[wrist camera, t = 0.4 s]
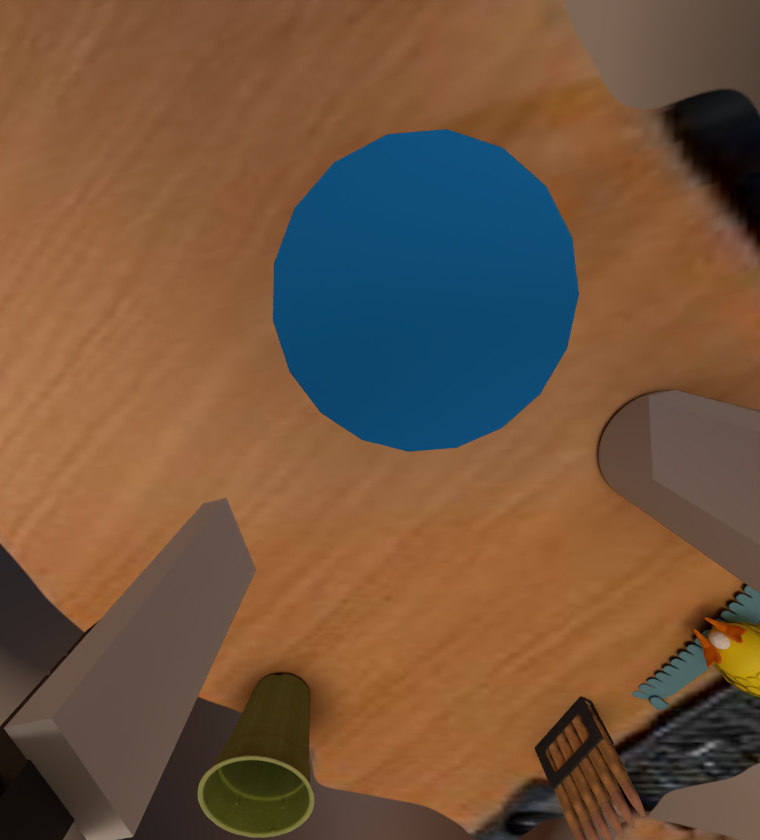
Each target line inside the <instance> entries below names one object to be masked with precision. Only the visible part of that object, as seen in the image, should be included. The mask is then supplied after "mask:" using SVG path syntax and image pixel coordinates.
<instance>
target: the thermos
mask: <svg viewBox="0 0 760 840" xmlns="http://www.w3.org/2000/svg"><path fill="white" fill-rule="evenodd" d="M578 295H579V292H578V283H577V275H576V266H575V258H574V249H573V240H572V237H571V235H570V233H569V231H568V229H567V227H566V225H565V223H564V221H563V219H562V217H561V215H560V213H559V211H558V209H557V207H556V205H555V203H554V201H553V199H552V197H551V195H550V193H549V191H548V189H547V187H546V186H545V185H544V184H543V183H542V182H541V181H540V180H538V179H537V178H536V177H535V176H534V175H533V174H532V173H530V172H529V171H528V170H527V169H526V168H525V167H524V166H523V165H521V164H520V163H519V162H518V161H517V160H516V159H515V158H513V157H512V156H511V155H510V154H509V153H508V152H507V151H506V150H504V149H503V148H502V147H499V146H496V145H493V144H490V143H487V142H484V141H481V140H478V139H475V138H472V137H469V136H466V135H463V134H460V133H457V132H454V131H451V130H448V129H444V130H433V131H421V132H410V133H398V134H387V135H385V136H384V137H382V138H380V139H378V140H376V141H374V142H372V143H370V144H368V145H366V146H365V147H363V148H361V149H359V150H357V151H355V152H353V153H351V154H349V155H347V156H346V157H344V158H342V159H340V160H338V161H336V162H334V163H333V164H332V166H331V167H330V168H329V169H328V170H327V171H326V173H325V174H324V175H323V176H322V177H321V178H320V179H319V181H318V182H317V183H316V184H315V185H314V186H313V188H312V189H311V190H310V191H309V192H308V193H307V195H306V196H305V197H304V198H303V199H302V200H301V202H300V203H299V204H298V205H297V206H296V207H295V209H294V212H293V214H292V217H291V220H290V222H289V225H288V228H287V230H286V233H285V236H284V238H283V241H282V244H281V246H280V249H279V252H278V254H277V257H276V260H275V262H274V295H273V322H274V325H275V328H276V331H277V334H278V337H279V340H280V343H281V346H282V349H283V352H284V356H285V359H286V362H287V365H288V368H289V371H290V373H291V374H292V375H293V377H294V378H295V379H296V381H297V382H298V383H299V385H300V386H301V387H302V388H303V390H304V391H305V392H306V394H307V395H308V396H309V398H310V399H311V400H312V402H313V403H314V404H315V406H316V407H317V408H318V409H319V411H320V412H321V413H322V414H324V415H325V416H327V417H328V418H330V419H331V420H333V421H334V422H336V423H337V424H339V425H340V426H342V427H343V428H345V429H346V430H348V431H349V432H351V433H352V434H354V435H355V436H357V437H359V438H360V439H362V440H365V441H369V442H373V443H377V444H381V445H385V446H389V447H393V448H396V449H400V450H404V451H408V452H410V451H421V450H433V449H445V448H457V447H459V446H461V445H464V444H466V443H468V442H471V441H473V440H475V439H477V438H480V437H482V436H484V435H487V434H489V433H491V432H494V431H496V430H498V429H500V428H502V427H503V426H505V425H506V424H507V423H508V422H509V421H510V420H511V419H512V418H514V417H515V416H516V415H517V414H518V413H519V412H520V411H521V410H523V409H524V408H525V407H526V406H527V405H528V404H529V403H530V402H532V401H533V400H534V399H535V398H536V397H537V396H538V395H540V393H541V392H542V390H543V388H544V386H545V385H546V383H547V381H548V380H549V378H550V376H551V375H552V373H553V371H554V369H555V368H556V366H557V364H558V363H559V361H560V359H561V358H562V356H563V354H564V352H565V351H566V349H567V346H568V341H569V337H570V332H571V328H572V323H573V318H574V314H575V309H576V305H577V300H578Z"/></svg>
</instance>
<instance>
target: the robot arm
mask: <svg viewBox="0 0 760 840" xmlns="http://www.w3.org/2000/svg"><path fill="white" fill-rule="evenodd" d="M649 414H650V433H651V451H652V470H653V480H655V481H657V482H658V483H660V484H661V485H663V486H665V487H666V488H668V489H670V490H671V491H673V492H675V493H676V494H678V495H679V496H681V497H683V498H684V499H686V500H688V501H689V502H691V503H693V504H694V505H696V506H697V507H699V508H701V509H702V510H704V511H706V512H707V513H709V514H711V515H712V516H714V517H715V518H717V519H719V520H720V521H722V522H724V523H725V524H727V525H728V526H730V527H732V528H733V529H735V530H737V531H738V532H740V533H742V534H743V535H745V536H746V537H748V538H750V539H751V540H753V541H755V542H756V543H758V544H760V412H756V411H753V410H749V409H745V408H741V407H738V406H734V405H730V404H726V403H723V402H719V401H715V400H711V399H708V398H704V397H700V396H697V395H693V394H689V393H685V392H682V391H678V390H672V391H668V392H664V393H659V394H655V395H651V396H649ZM255 571H256V568H255V566H254V564H253V561H252V559H251V556H250V554H249V552H248V549H247V547H246V544H245V542H244V539H243V537H242V535H241V532H240V530H239V527H238V525H237V522H236V520H235V518H234V515H233V513H232V510H231V508H230V506H229V503H228V501H227V498H224V499H220V500H216V501H212V502H208V503H204V504H203V505H202V506H201V507H200V508H199V509H198V510H197V511H196V513H195V514H194V515H193V516H192V517H191V518H190V519H189V520H188V522H187V523H186V524H185V525H184V526H183V527H182V528H181V529H180V531H179V532H178V533H177V534H176V535H175V536H174V537H173V538H172V540H171V541H170V542H169V543H168V544H167V545H166V546H165V547H164V549H163V550H162V551H161V552H160V553H159V554H158V555H157V556H156V558H155V559H154V560H153V561H152V562H151V563H150V564H149V565H148V567H147V568H146V569H145V570H144V571H143V572H142V573H141V574H140V576H139V577H138V578H137V579H136V580H135V581H134V582H133V583H132V584H131V586H130V587H129V588H128V589H127V590H126V591H125V592H124V593H123V595H122V596H121V597H120V598H119V599H118V600H117V601H116V602H115V604H114V605H113V606H112V607H111V608H110V609H109V610H108V611H107V613H106V614H105V615H104V616H103V617H102V618H101V619H100V620H99V621H98V622H97V623H95V624H94V625H93V626H92V627H90V628H89V629H88V630H87V631H86V632H85V633H84V634H83V635H82V636H81V638H79V640H78V641H77V642H76V643H75V644H74V645H73V646H72V647H71V648H70V650H69V651H68V652H67V656H64V657H62V658H61V660H60V661H59V662H58V663H57V664H56V665H55V666H54V667H53V668H52V670H51V674H50V675H47V676H45V677H44V678H43V679H42V681H41V682H40V683H39V684H38V685H37V686H36V687H35V688H34V689H33V691H32V692H31V693H30V694H29V695H28V696H27V697H26V698H25V700H24V701H23V702H22V703H21V704H20V705H19V706H18V707H17V708H16V709H15V711H14V712H13V713H12V714H11V715H10V716H9V717H8V718H7V719H6V721H5V722H4V723H3V724H2V725H1V726H0V840H63V838H64V837H65V835H66V833H67V832H68V830H69V828H70V827H71V825H72V823H73V822H74V823H75V825H77V827H78V828H79V830H80V831H81V832H82V834H83V835H84V837H85V838H86V839H87V840H117V839H123V838H128V837H133V836H134V834H135V831H136V829H137V827H138V825H139V823H140V821H141V818H142V816H143V814H144V812H145V810H146V808H147V805H148V803H149V801H150V799H151V797H152V794H153V792H154V790H155V788H156V786H157V784H158V781H159V779H160V777H161V775H162V773H163V771H164V769H165V766H166V764H167V762H168V760H169V758H170V755H171V753H172V751H173V749H174V747H175V745H176V742H177V740H178V738H179V736H180V733H181V732H182V729H183V727H184V725H185V723H186V721H187V718H188V716H189V714H190V712H191V710H192V708H193V706H194V703H195V701H196V699H197V697H198V695H199V693H200V690H201V688H202V686H203V684H204V682H205V680H206V677H207V675H208V673H209V671H210V669H211V667H212V664H213V662H214V660H215V658H216V656H217V653H218V651H219V649H220V647H221V645H222V643H223V640H224V638H225V636H226V634H227V632H228V630H229V627H230V625H231V623H232V621H233V619H234V617H235V614H236V612H237V610H238V608H239V606H240V604H241V601H242V599H243V597H244V595H245V593H246V591H247V588H248V586H249V584H250V582H251V580H252V578H253V575H254V573H255Z"/></svg>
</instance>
